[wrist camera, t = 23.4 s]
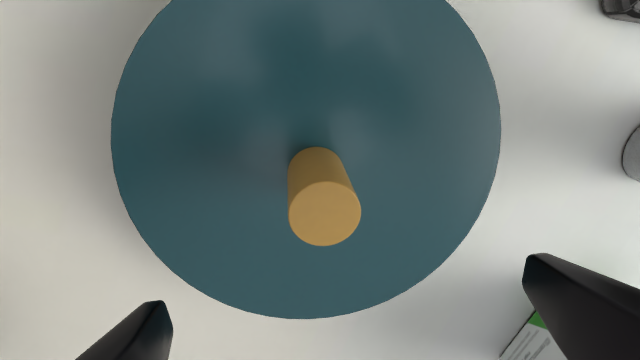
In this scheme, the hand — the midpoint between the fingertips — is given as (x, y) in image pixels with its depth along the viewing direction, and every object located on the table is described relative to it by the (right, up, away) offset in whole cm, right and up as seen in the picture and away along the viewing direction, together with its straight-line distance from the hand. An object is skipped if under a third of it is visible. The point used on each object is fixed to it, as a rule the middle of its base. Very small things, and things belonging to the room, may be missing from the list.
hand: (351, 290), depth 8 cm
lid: (-1, +3, +8) cm, 9 cm away
